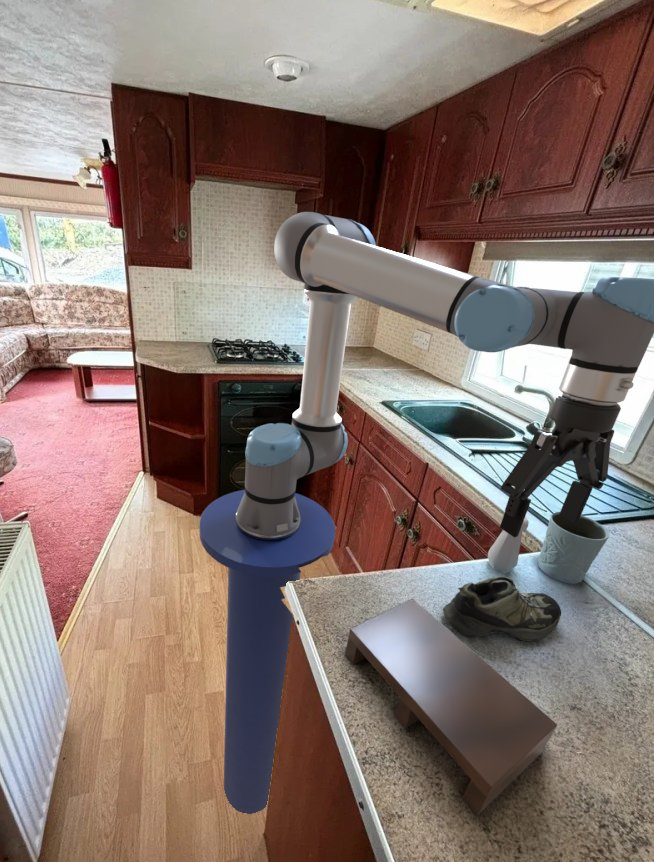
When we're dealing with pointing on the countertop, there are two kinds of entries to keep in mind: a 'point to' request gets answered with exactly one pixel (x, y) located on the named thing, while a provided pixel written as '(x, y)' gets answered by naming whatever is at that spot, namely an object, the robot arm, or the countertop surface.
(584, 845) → the countertop surface
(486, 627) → the hiking shoe
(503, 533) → the salt shaker
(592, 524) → the embossed plant pot
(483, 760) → the shoe shelf
